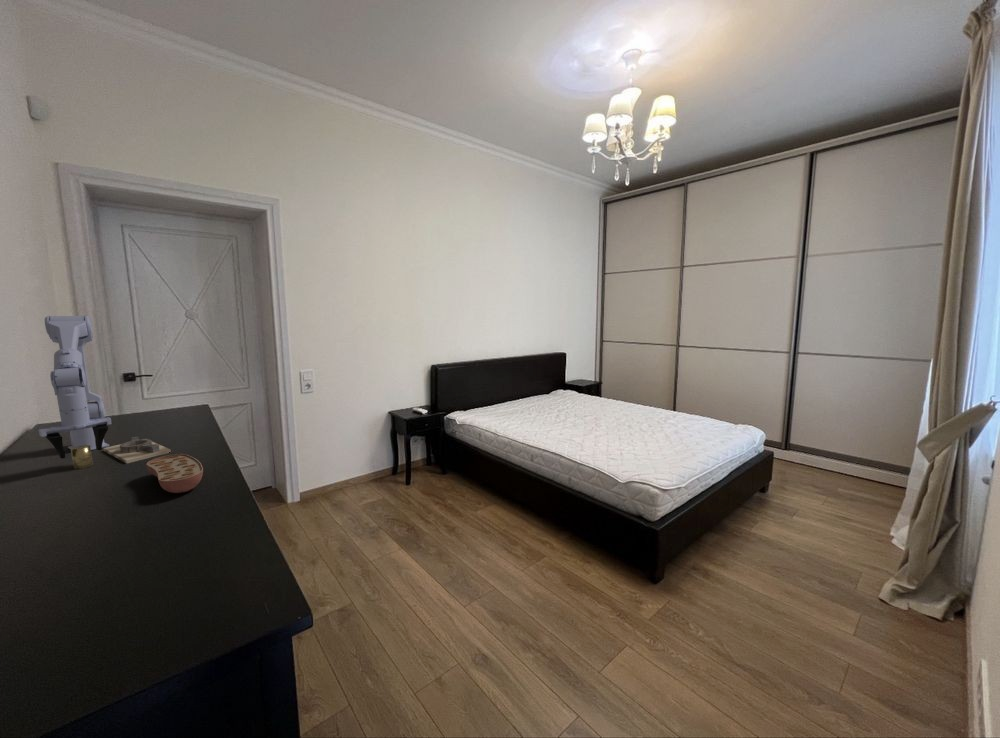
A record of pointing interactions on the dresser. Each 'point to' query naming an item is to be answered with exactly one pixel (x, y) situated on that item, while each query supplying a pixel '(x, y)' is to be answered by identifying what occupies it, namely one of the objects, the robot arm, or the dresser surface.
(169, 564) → the dresser surface
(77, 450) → the cylinder
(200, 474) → the anatomical model
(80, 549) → the dresser surface
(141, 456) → the coupling plate
